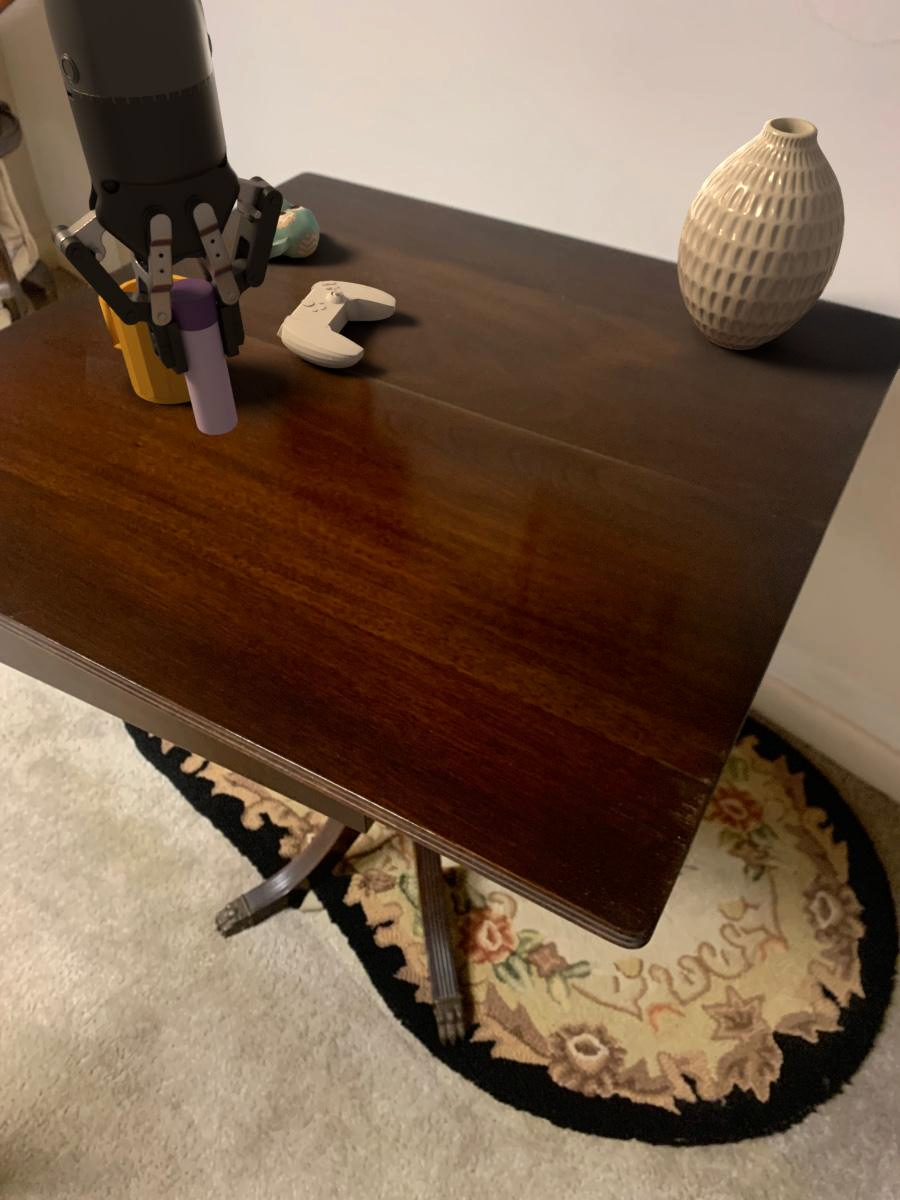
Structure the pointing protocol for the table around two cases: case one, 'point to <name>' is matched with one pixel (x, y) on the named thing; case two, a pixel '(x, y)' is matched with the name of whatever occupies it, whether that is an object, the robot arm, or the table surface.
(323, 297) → the game controller
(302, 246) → the green dragon head figurine
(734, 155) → the vase
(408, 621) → the table surface
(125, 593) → the table surface
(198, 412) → the glue stick
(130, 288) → the mug
